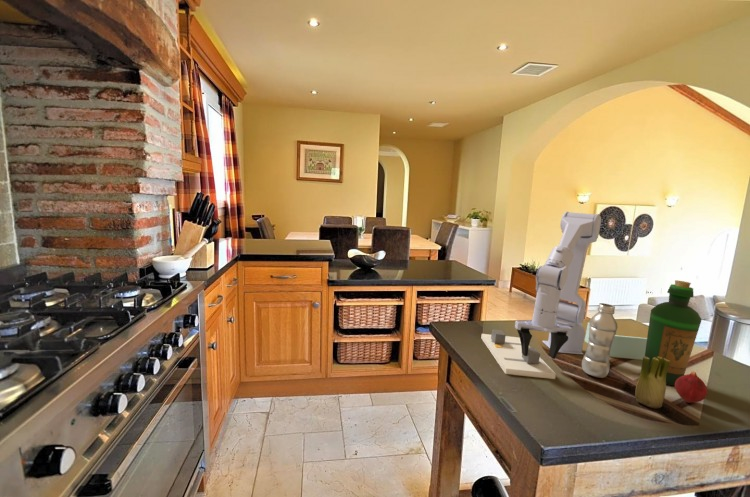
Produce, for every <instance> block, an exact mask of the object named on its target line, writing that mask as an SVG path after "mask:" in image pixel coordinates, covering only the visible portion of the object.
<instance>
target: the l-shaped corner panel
mask: <svg viewBox="0 0 750 497" xmlns="http://www.w3.org/2000/svg"><path fill="white" fill-rule="evenodd" d="M589 328H590V321H589V322H587V325H586V330H585V338H584V343H587V344H588V341H589ZM646 343H647V337H639V336H630V335H627V336H626V335H618V334H615V337H614V339H613V342H612V346H611V350H610V357H612V358H619V359H629V360H630V359H632V360H633V359H634V360H642V361H643V357H645V350H646Z"/></svg>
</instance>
